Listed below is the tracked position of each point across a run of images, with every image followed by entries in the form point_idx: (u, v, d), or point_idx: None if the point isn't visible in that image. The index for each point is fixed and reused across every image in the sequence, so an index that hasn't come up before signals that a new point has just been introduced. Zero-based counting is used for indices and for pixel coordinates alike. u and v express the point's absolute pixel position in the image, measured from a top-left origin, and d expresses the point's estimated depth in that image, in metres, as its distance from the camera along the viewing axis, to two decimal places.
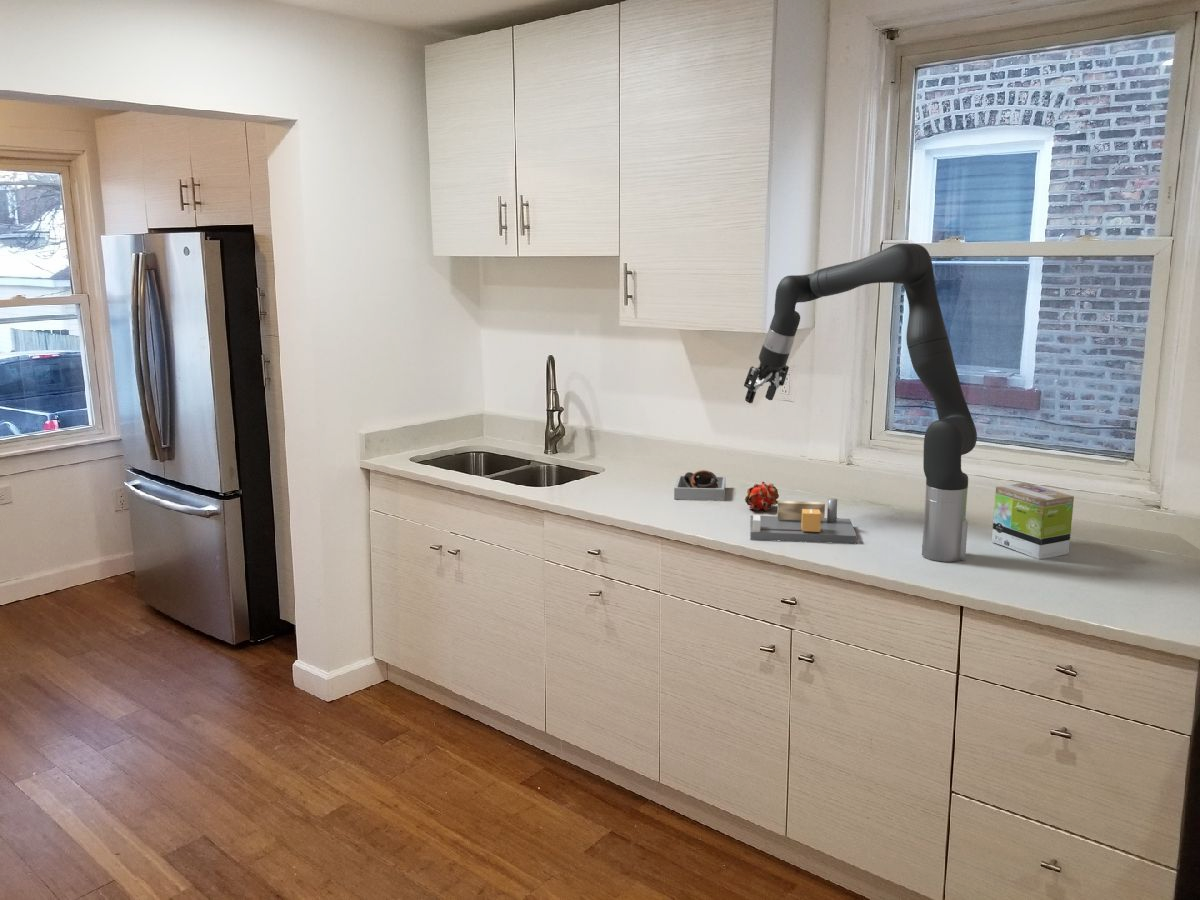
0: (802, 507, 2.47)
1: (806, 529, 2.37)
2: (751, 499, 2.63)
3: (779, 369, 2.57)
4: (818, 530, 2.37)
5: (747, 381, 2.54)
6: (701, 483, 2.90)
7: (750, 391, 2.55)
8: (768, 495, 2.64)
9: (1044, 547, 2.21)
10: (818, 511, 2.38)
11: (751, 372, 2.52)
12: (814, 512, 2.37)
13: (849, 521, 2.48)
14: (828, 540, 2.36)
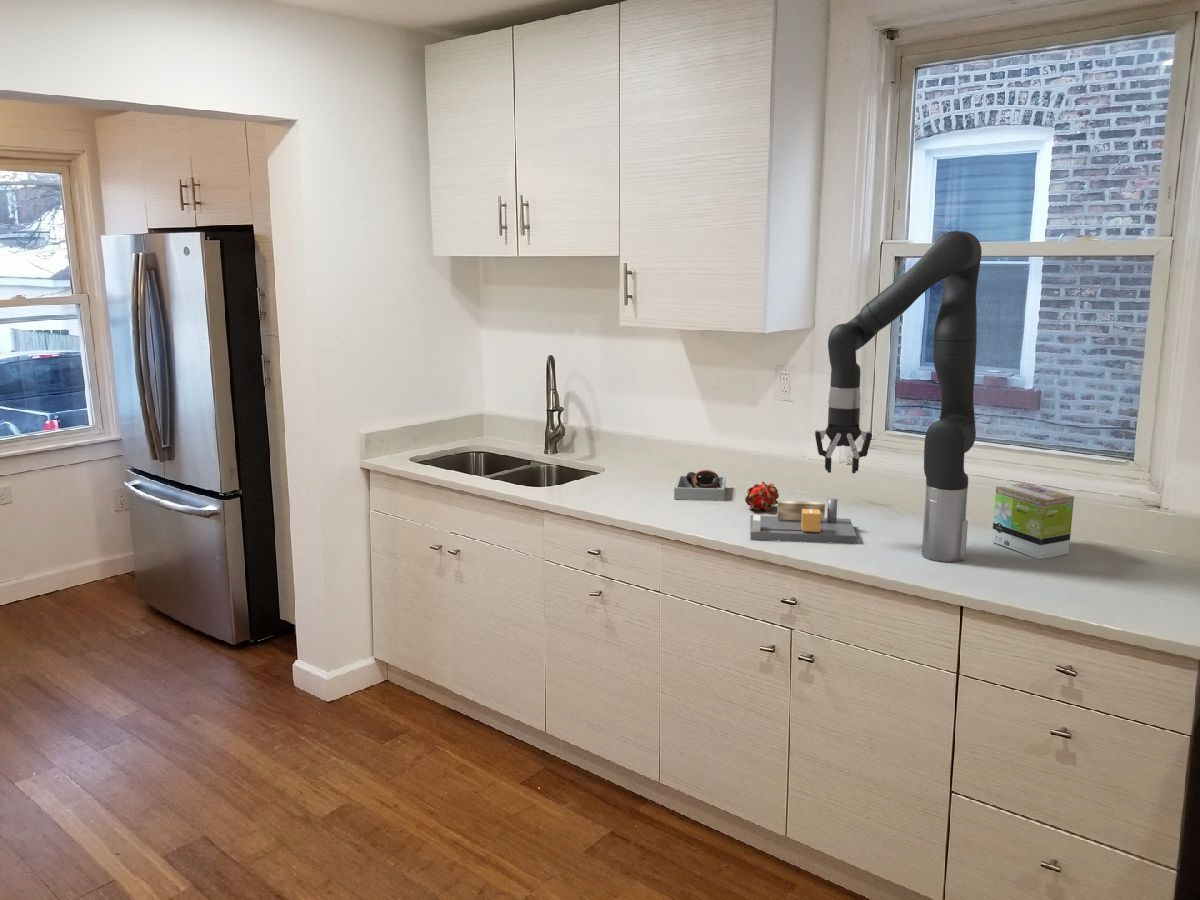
0: (802, 507, 2.47)
1: (806, 529, 2.37)
2: (751, 499, 2.63)
3: (856, 431, 2.32)
4: (818, 530, 2.37)
5: None
6: (703, 483, 2.90)
7: (825, 458, 2.35)
8: (768, 495, 2.64)
9: (1044, 547, 2.21)
10: (818, 511, 2.38)
11: (815, 436, 2.35)
12: (814, 512, 2.37)
13: (849, 521, 2.48)
14: (828, 540, 2.36)
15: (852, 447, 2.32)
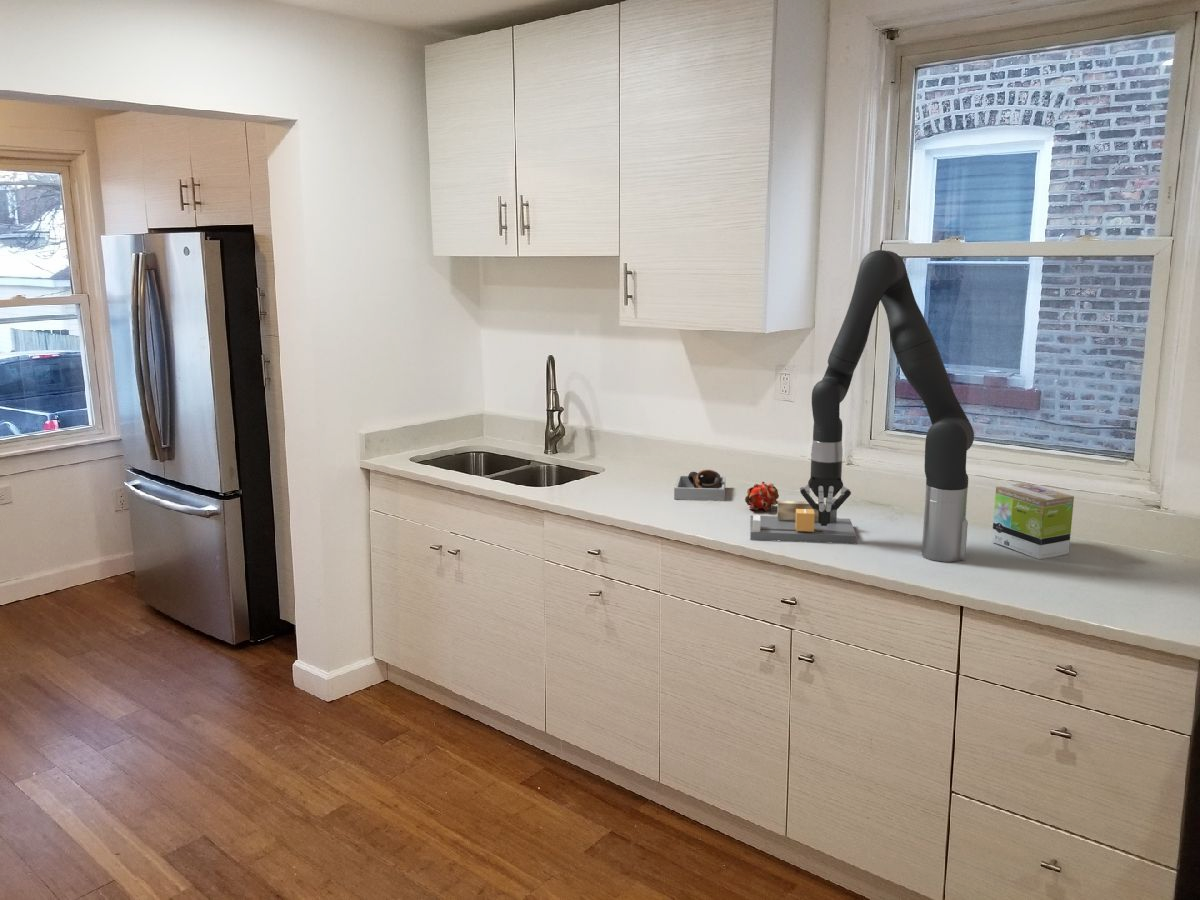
0: (802, 507, 2.47)
1: (800, 529, 2.37)
2: (751, 499, 2.63)
3: (838, 484, 2.35)
4: (812, 530, 2.37)
5: None
6: (705, 482, 2.91)
7: (818, 512, 2.38)
8: (768, 495, 2.64)
9: (1044, 547, 2.21)
10: (812, 511, 2.39)
11: None
12: (808, 512, 2.38)
13: (849, 521, 2.48)
14: (828, 540, 2.36)
15: (828, 500, 2.36)
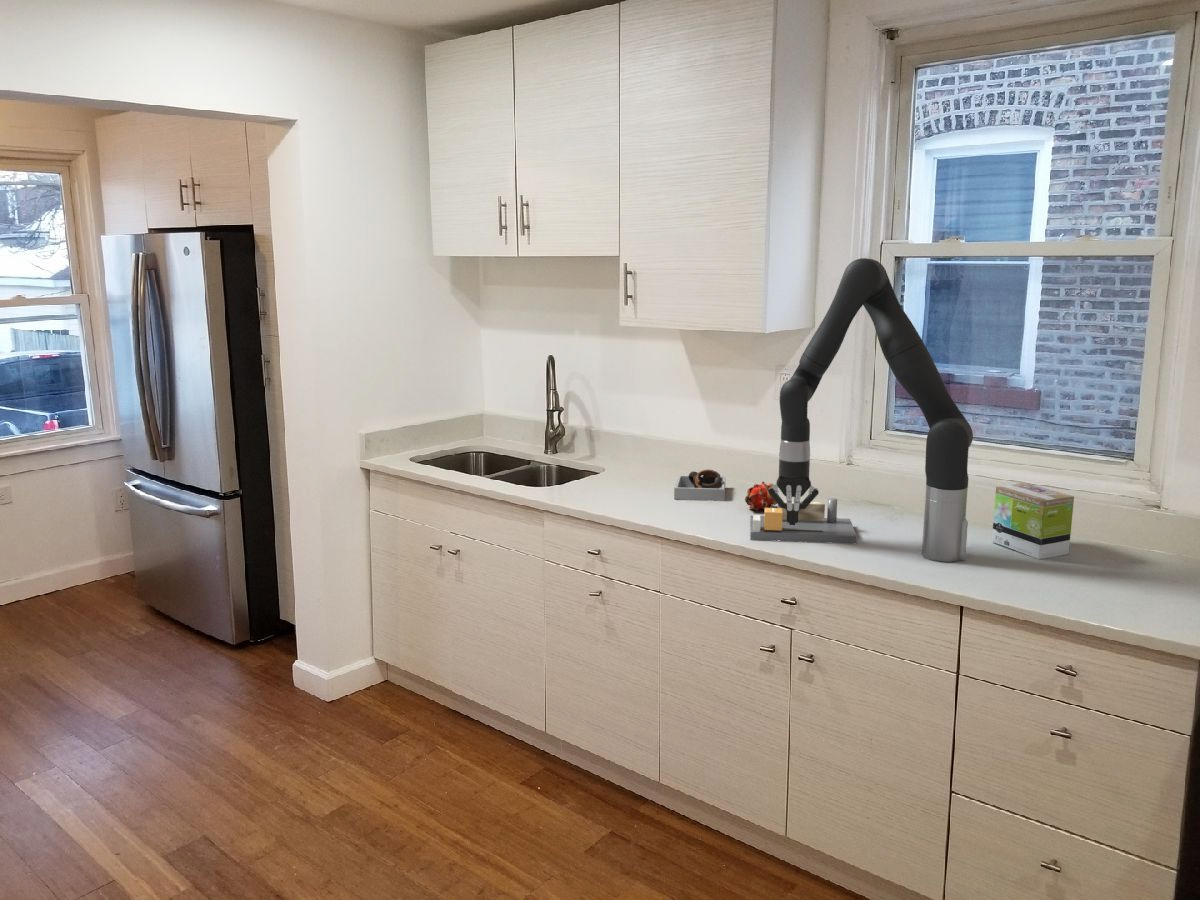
0: None
1: (768, 528, 2.39)
2: (751, 499, 2.63)
3: (806, 483, 2.36)
4: (780, 529, 2.38)
5: None
6: (705, 482, 2.91)
7: (787, 511, 2.39)
8: (768, 495, 2.64)
9: (1044, 547, 2.21)
10: (780, 510, 2.40)
11: None
12: (776, 511, 2.39)
13: (849, 521, 2.48)
14: (828, 540, 2.36)
15: (796, 499, 2.37)
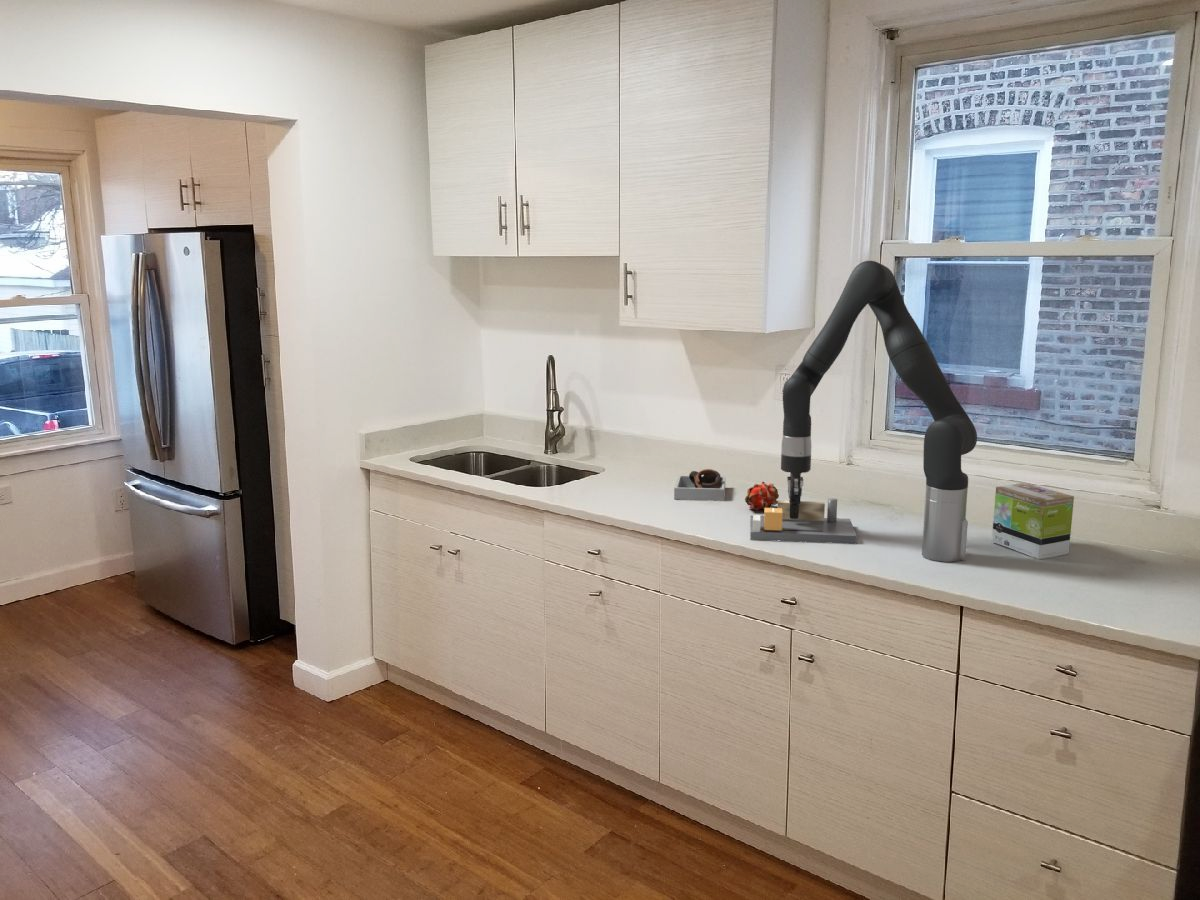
0: (802, 507, 2.47)
1: (768, 528, 2.39)
2: (751, 499, 2.63)
3: None
4: (780, 529, 2.38)
5: (792, 499, 2.41)
6: (706, 482, 2.91)
7: (795, 506, 2.44)
8: (768, 495, 2.64)
9: (1044, 547, 2.21)
10: (780, 510, 2.40)
11: (794, 493, 2.39)
12: (776, 511, 2.39)
13: (849, 521, 2.48)
14: (828, 540, 2.36)
15: None
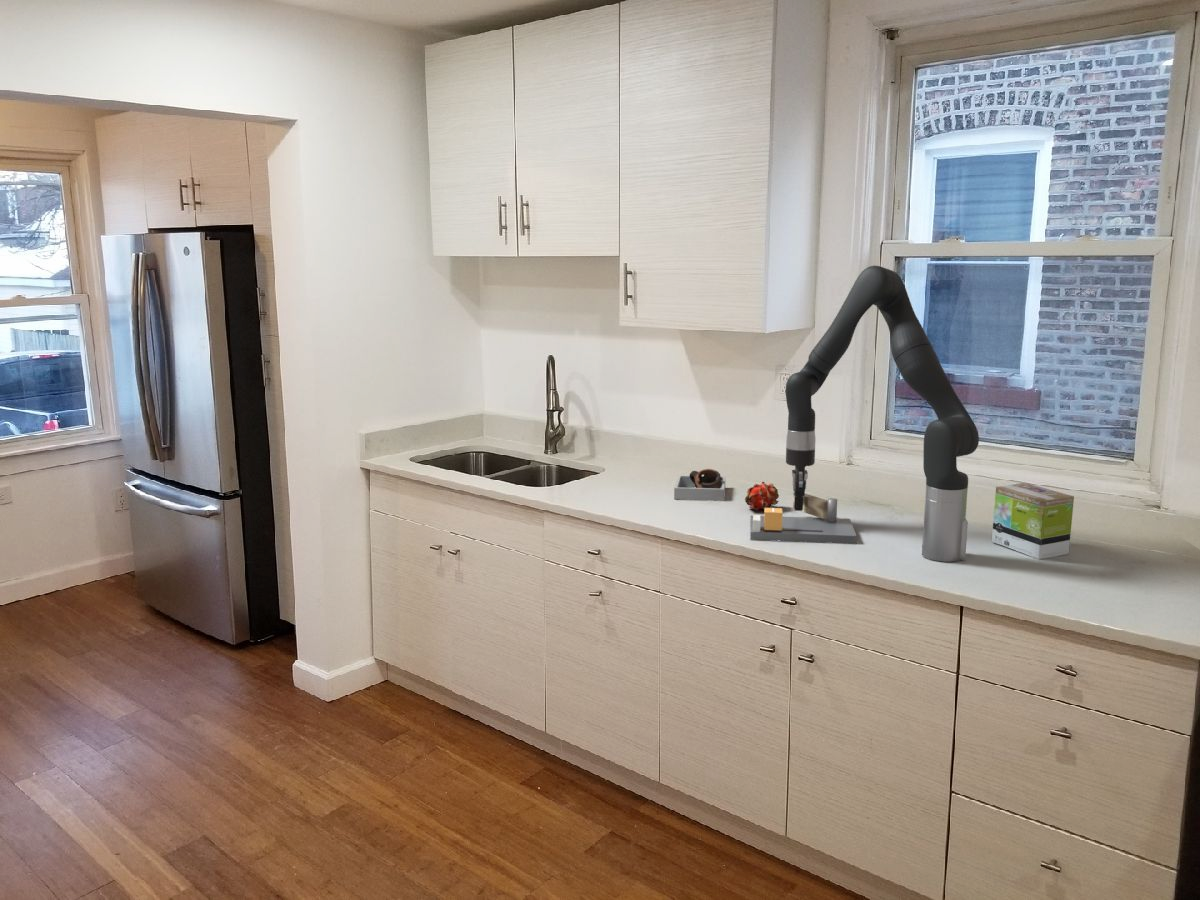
0: (808, 501, 2.53)
1: (768, 528, 2.39)
2: (751, 499, 2.63)
3: None
4: (780, 529, 2.38)
5: (796, 491, 2.49)
6: (706, 482, 2.92)
7: (800, 498, 2.52)
8: (768, 495, 2.64)
9: (1044, 547, 2.21)
10: (780, 510, 2.40)
11: (798, 486, 2.47)
12: (776, 511, 2.39)
13: (849, 521, 2.48)
14: (828, 540, 2.36)
15: None
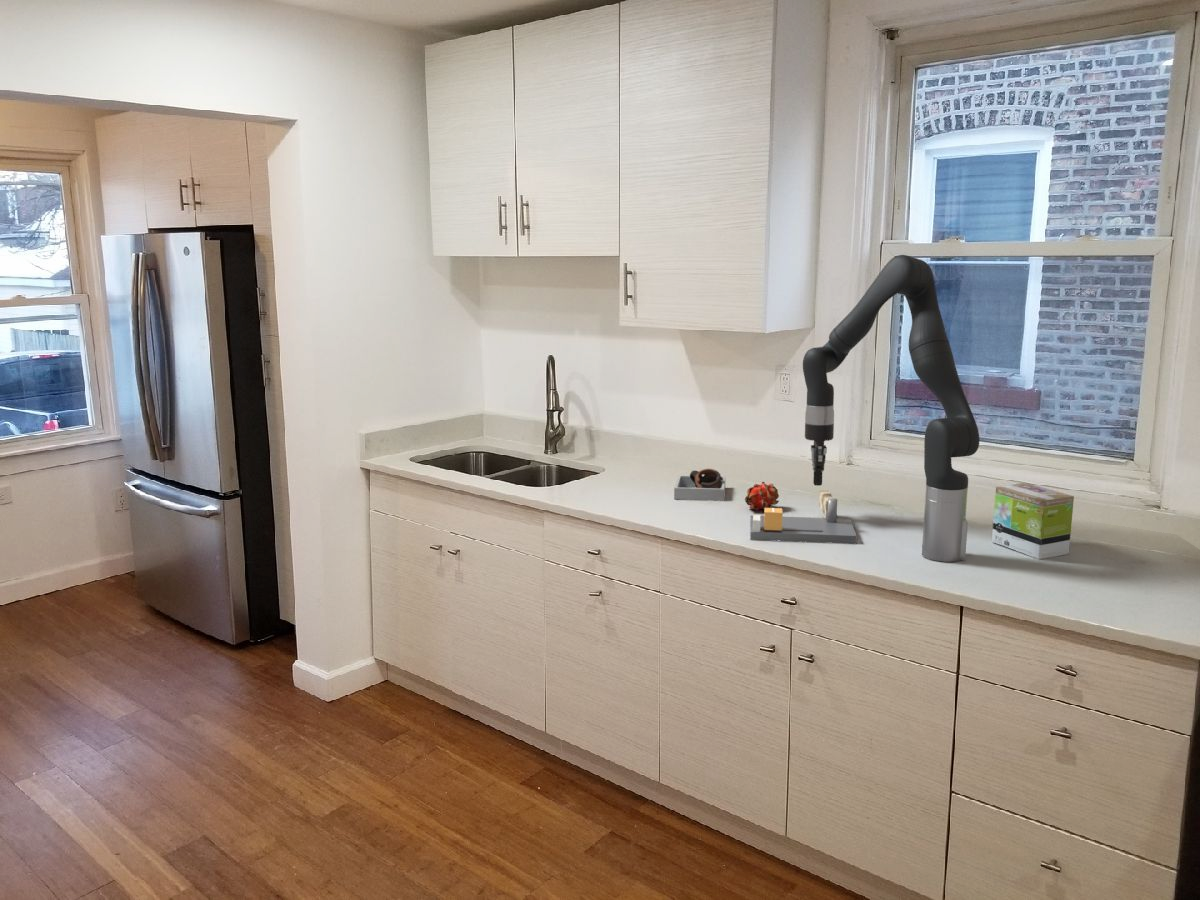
0: (823, 499, 2.54)
1: (768, 528, 2.39)
2: (751, 499, 2.63)
3: None
4: (780, 529, 2.38)
5: None
6: (707, 481, 2.92)
7: (819, 473, 2.54)
8: (768, 495, 2.64)
9: (1044, 547, 2.21)
10: (780, 510, 2.40)
11: (818, 460, 2.50)
12: (776, 511, 2.39)
13: (849, 521, 2.48)
14: (828, 540, 2.36)
15: None
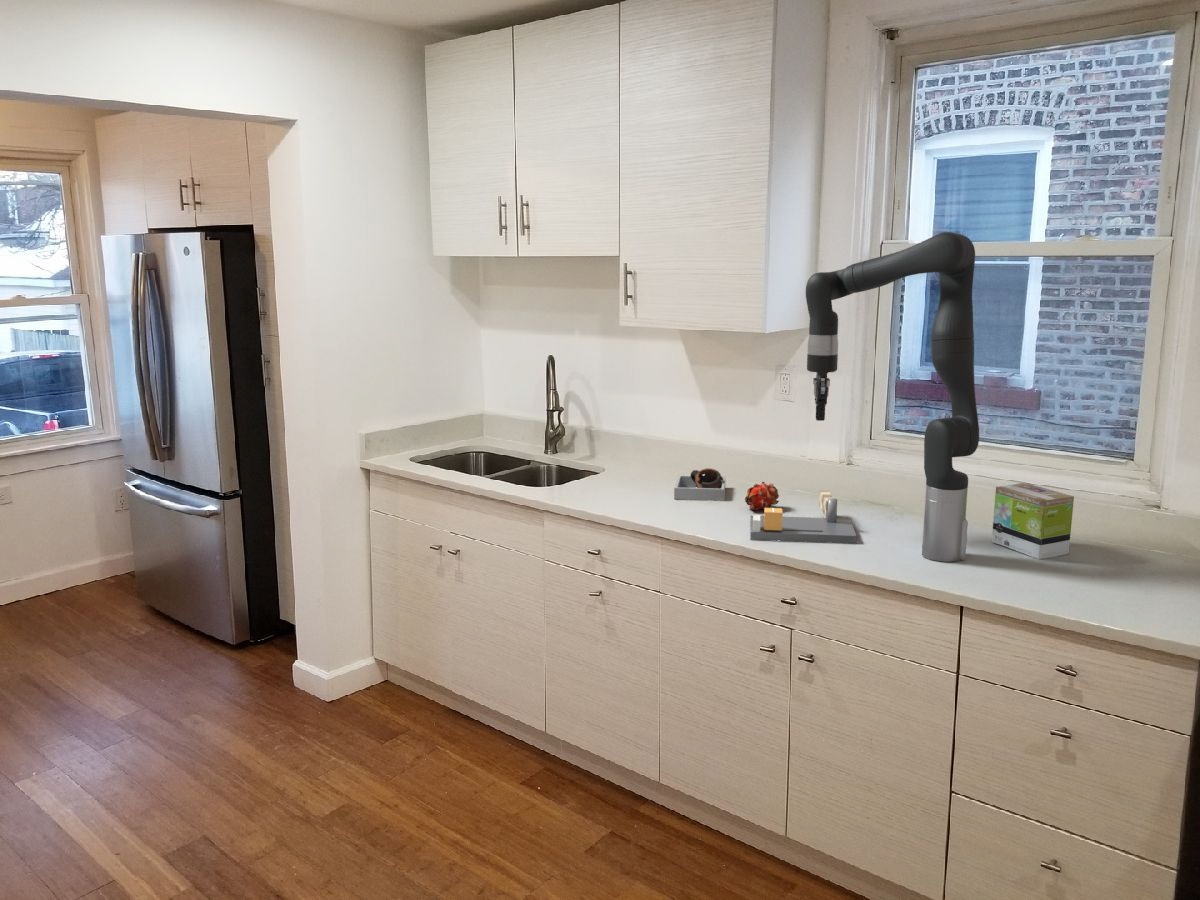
0: (823, 499, 2.54)
1: (768, 528, 2.39)
2: (751, 499, 2.63)
3: None
4: (780, 529, 2.38)
5: (818, 399, 2.38)
6: (707, 481, 2.92)
7: (821, 407, 2.40)
8: (768, 495, 2.64)
9: (1044, 547, 2.21)
10: (780, 510, 2.40)
11: (820, 392, 2.36)
12: (776, 511, 2.39)
13: (849, 521, 2.48)
14: (828, 540, 2.36)
15: None
